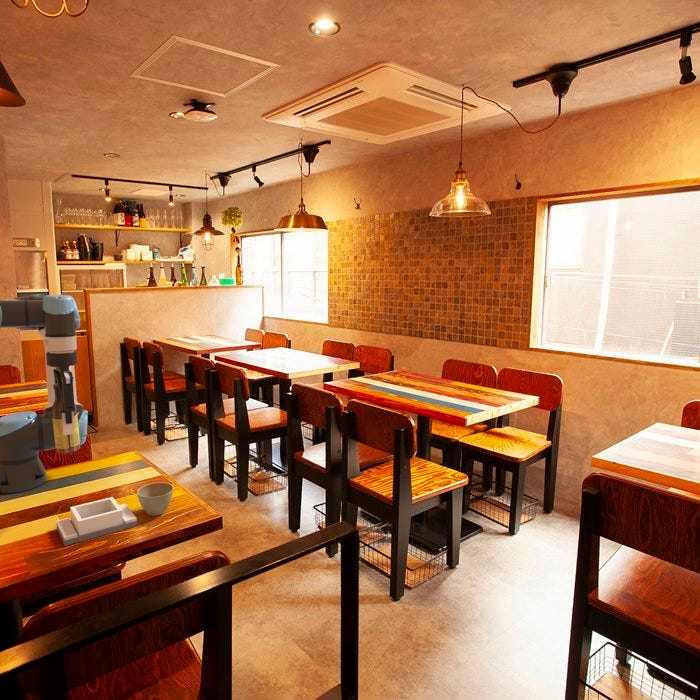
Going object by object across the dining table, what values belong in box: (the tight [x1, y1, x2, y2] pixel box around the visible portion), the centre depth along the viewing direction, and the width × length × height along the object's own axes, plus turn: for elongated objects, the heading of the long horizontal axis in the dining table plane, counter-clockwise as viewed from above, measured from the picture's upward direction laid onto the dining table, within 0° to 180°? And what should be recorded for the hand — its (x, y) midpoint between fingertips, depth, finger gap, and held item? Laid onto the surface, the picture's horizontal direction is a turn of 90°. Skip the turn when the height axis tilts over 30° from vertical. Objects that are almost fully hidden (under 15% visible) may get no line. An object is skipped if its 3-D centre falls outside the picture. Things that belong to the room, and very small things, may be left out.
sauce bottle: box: [52, 383, 81, 454], centre depth 145 cm, size 6×6×20 cm
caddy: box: [55, 496, 138, 547], centre depth 142 cm, size 11×18×6 cm, turn 129°
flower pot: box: [136, 482, 174, 517], centre depth 151 cm, size 10×10×7 cm
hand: (66, 430), depth 146 cm, fingers closed on sauce bottle, 6 cm apart
